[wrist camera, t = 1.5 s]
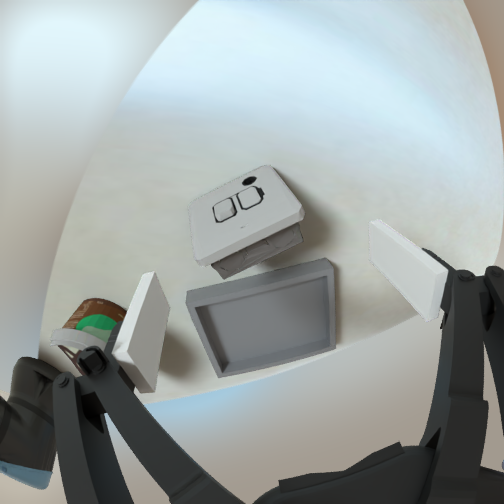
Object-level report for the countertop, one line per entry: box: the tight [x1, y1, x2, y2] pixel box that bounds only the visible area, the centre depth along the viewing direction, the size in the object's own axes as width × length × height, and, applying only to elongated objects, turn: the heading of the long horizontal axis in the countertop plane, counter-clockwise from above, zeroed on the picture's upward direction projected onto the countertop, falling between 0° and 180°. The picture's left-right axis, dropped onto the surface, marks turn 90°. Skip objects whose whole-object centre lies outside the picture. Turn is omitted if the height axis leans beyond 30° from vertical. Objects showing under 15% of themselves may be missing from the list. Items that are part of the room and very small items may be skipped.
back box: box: [186, 258, 336, 378], centre depth 34 cm, size 17×14×2 cm
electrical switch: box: [188, 165, 305, 279], centre depth 25 cm, size 9×5×9 cm, turn 115°
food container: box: [50, 298, 127, 375], centre depth 29 cm, size 12×6×10 cm, turn 21°
